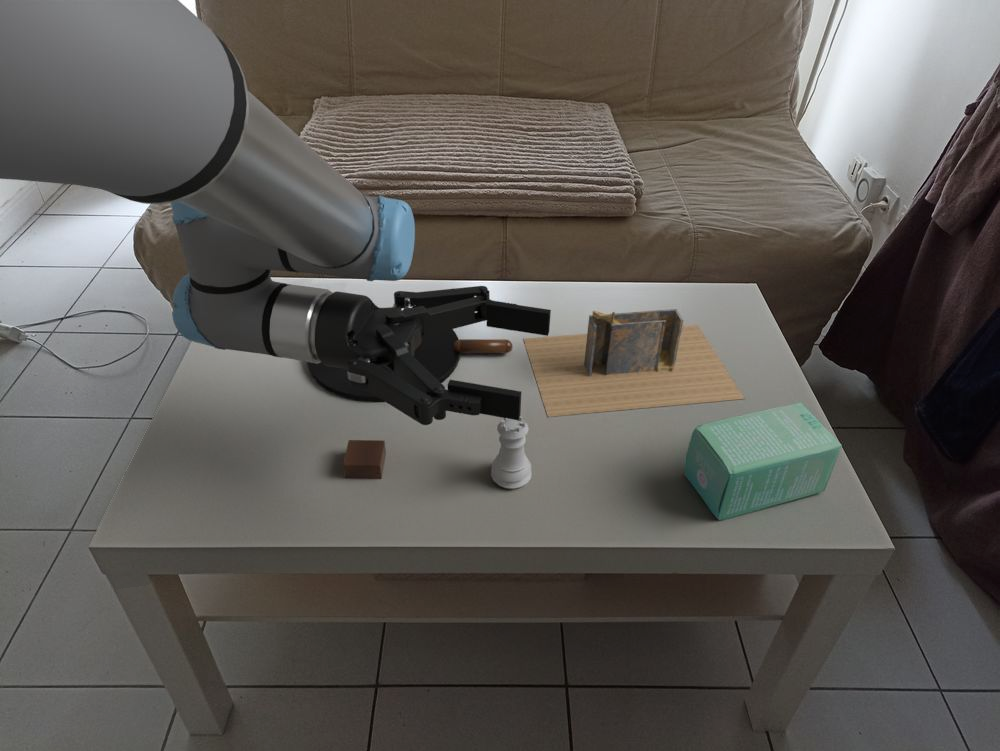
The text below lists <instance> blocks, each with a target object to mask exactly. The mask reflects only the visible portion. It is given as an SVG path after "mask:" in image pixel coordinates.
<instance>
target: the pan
mask: <svg viewBox="0 0 1000 751" xmlns="http://www.w3.org/2000/svg"><path fill="white" fill-rule="evenodd" d="M415 320H416V321H417V322H418V323H419V318H415ZM512 350H513V342H512V341H511V340H509V339H507V338H506V339H501V338H499V339H498V338H497V339H493V338H492V339H489V338H488V339H485V338H484V339H482V338H480V339H477V338H473V339H472V338H471V339H468V338H464V339H461V338H460V339H459V337H458V335H457V332H456V331H455V330H454V329H451V330H447V331H443V332H439V333H436V334H432V335H431V336H430V338H429V339H427V340H424V341H422V342H421V344H420V345H419V347H418V348H416V349H415V351H414V356H413V357H414V358H415V359H416V360H417V361H418V362H419V363H421V364H422V365H423V366H424V367H425V368H426V369H427V370H428V371H429V372H430V373H431V374H432V375H433V376H434V377H435V378H436V379H437V380H438V381H439V382H440V383H441V384H443V382H445V381H446V380H447V379H448V378H449V377H450V376H451V375H452V374H453V373H454V371H455V370H456V368H457V367H458V365H459V362H460V359H461V354H509V353H510V352H511V351H512ZM306 363H307V368H308V371H309V373H310V375H311V377H312V378H313V379H314V380H315V382H316V383H317V384H318V385H319V386H321V388H323V389H325V390H326V391H328V392H329V393H332V394H334V395H336V396H339V397H341V398H345V399H348V400H349V399H350V400H354V401H359V402H370V403H380V402H381V403H383V402H384V403H386V402H385V401H383V400H382V399H380V398H378V397H377V396H375V395H374V394H372V393H370V392H369V391H365V390H362V389H358V388H354V387H351V386H350V385H349V380H348V373H347V369H342V368H336V367H330V366H326V365H324V364H323V363H322V362H320V363H318V364H316V363H311V362H306ZM381 368H383V369H384V370H386V371H388V372H389V373H391V372H390V371H389V370H388V369H387V368H386V367H383V366H382V367H381ZM391 374H392V373H391ZM399 379H401V378H399ZM401 380H402V379H401Z"/></svg>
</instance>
